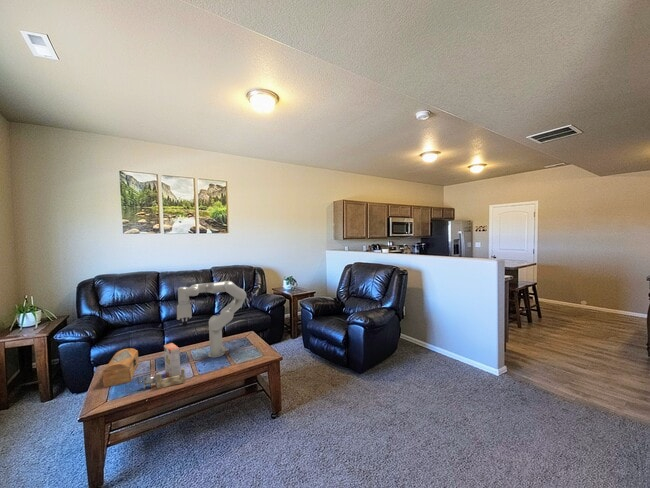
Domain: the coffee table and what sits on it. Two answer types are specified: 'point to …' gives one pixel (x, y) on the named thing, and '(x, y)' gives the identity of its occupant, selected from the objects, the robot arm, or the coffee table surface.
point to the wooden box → (121, 367)
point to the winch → (148, 380)
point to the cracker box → (172, 360)
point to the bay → (170, 380)
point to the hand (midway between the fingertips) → (184, 326)
